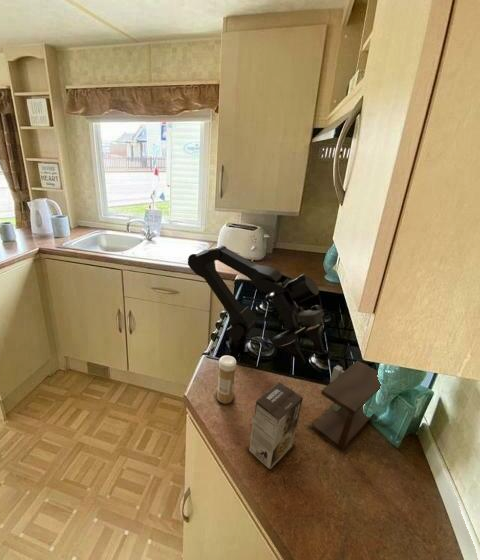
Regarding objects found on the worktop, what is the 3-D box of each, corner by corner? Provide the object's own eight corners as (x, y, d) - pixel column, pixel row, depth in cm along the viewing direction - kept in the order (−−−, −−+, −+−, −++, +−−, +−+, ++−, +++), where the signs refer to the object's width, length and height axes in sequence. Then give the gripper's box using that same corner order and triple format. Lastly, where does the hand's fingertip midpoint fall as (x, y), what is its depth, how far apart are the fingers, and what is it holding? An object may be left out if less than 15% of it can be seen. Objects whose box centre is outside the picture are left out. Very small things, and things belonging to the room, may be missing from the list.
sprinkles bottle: (235, 398, 89) (240, 360, 83) (225, 406, 86) (229, 368, 80) (223, 389, 92) (226, 352, 86) (213, 397, 89) (215, 359, 83)
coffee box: (270, 429, 80) (279, 380, 73) (292, 447, 75) (304, 396, 68) (247, 450, 74) (254, 399, 67) (269, 470, 70) (280, 418, 63)
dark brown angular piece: (311, 428, 80) (321, 390, 75) (346, 396, 90) (357, 360, 85) (341, 451, 75) (354, 411, 69) (374, 413, 85) (388, 376, 79)
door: (320, 400, 87) (327, 372, 82) (335, 387, 91) (343, 360, 87) (336, 411, 83) (345, 382, 79) (351, 397, 88) (360, 369, 84)
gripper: (287, 309, 81) (317, 365, 78) (326, 290, 92) (353, 339, 89) (260, 321, 90) (286, 372, 87) (298, 302, 101) (322, 347, 98)
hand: (313, 357), depth 90 cm, fingers open, 9 cm apart
